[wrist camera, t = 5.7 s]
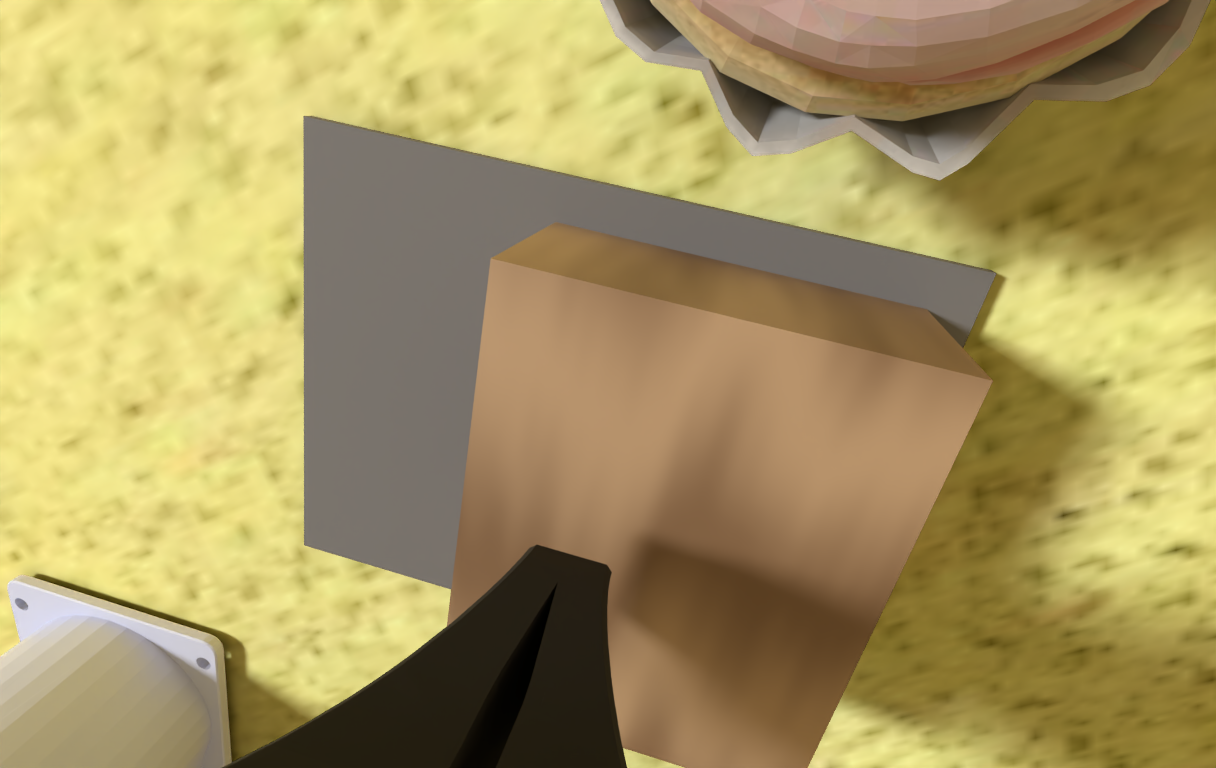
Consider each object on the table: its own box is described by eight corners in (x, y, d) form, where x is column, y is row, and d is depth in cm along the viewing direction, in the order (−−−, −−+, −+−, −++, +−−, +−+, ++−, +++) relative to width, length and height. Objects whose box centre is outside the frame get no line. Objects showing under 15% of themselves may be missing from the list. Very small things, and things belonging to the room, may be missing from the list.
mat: (805, 687, 18) (806, 696, 18) (310, 539, 20) (304, 545, 19) (991, 270, 13) (996, 273, 13) (311, 116, 15) (303, 116, 14)
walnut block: (500, 575, 18) (783, 660, 18) (439, 689, 15) (793, 802, 14) (555, 221, 14) (928, 309, 13) (490, 258, 11) (996, 382, 10)
